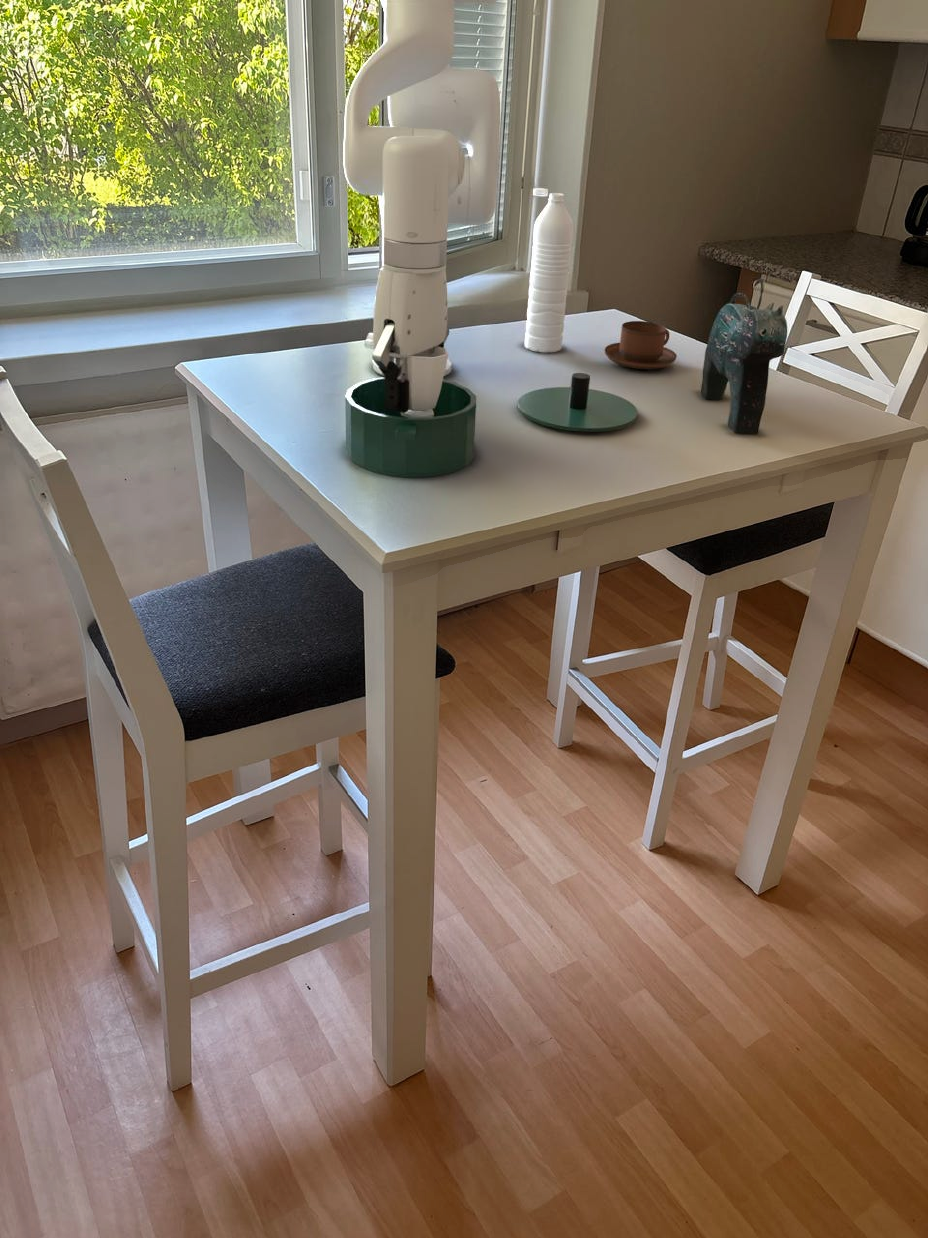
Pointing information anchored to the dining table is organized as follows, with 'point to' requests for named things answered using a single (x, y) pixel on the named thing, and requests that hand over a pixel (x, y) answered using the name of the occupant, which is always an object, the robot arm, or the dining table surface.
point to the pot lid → (577, 407)
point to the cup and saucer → (642, 346)
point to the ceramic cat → (743, 359)
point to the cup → (424, 381)
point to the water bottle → (549, 275)
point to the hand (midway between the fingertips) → (411, 401)
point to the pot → (410, 432)
